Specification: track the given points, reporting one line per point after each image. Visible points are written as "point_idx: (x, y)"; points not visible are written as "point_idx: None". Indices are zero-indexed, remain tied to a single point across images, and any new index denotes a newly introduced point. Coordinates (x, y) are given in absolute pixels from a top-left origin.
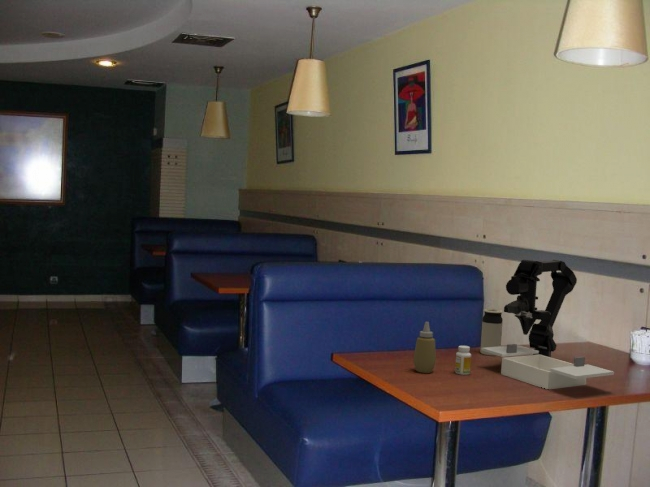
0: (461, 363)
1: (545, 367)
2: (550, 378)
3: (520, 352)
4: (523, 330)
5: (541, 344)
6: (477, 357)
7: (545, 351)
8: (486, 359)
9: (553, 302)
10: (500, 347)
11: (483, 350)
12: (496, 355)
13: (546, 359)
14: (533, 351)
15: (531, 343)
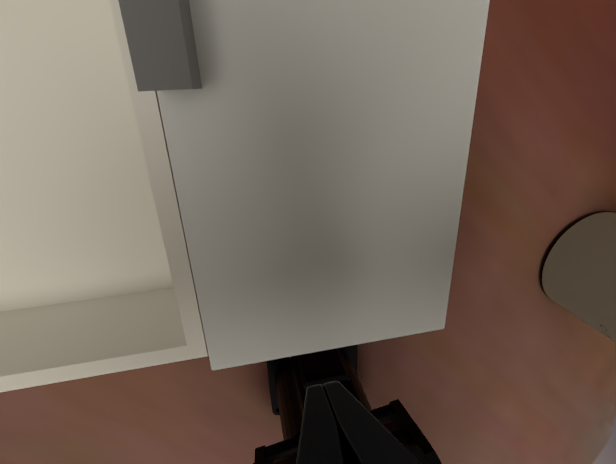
0: None
1: (133, 306)
2: None
3: (169, 151)
4: (350, 422)
5: (290, 458)
6: (580, 129)
7: (288, 438)
8: (523, 151)
9: None
10: (431, 99)
11: None
12: (545, 265)
13: (111, 344)
14: (202, 318)
15: (385, 421)
